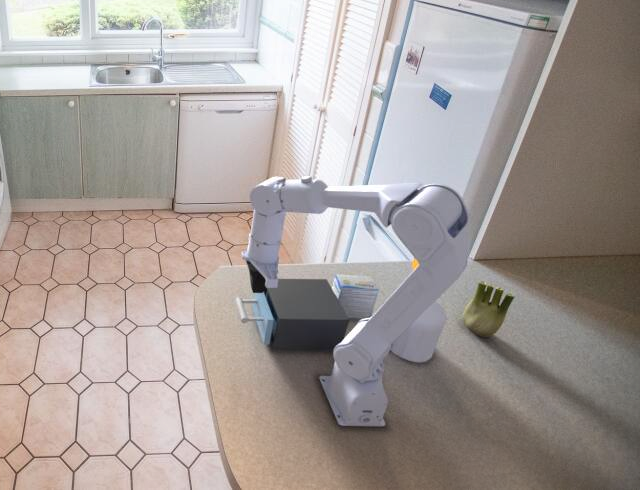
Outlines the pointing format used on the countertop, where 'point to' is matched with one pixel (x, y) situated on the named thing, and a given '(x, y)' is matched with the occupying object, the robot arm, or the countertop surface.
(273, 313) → the blue drawer
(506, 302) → the fennel bulb
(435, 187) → the robot arm
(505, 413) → the countertop surface
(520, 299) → the countertop surface
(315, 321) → the dark grey drawer cabinet
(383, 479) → the countertop surface
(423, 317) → the soap bottle
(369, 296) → the medicine box
